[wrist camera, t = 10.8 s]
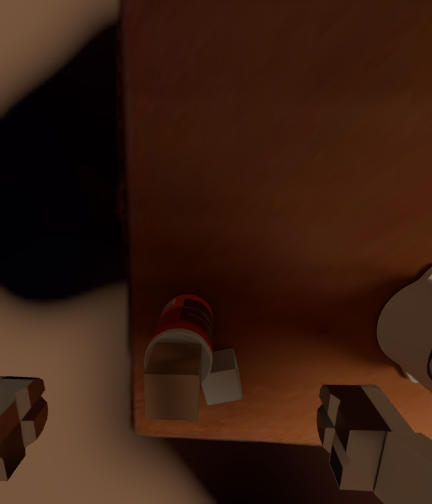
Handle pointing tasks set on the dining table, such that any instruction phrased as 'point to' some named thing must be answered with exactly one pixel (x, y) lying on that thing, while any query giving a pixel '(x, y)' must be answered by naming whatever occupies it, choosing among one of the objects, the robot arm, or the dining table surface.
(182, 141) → the dining table surface
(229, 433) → the dining table surface
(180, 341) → the canned food
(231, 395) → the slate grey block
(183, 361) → the walnut block
